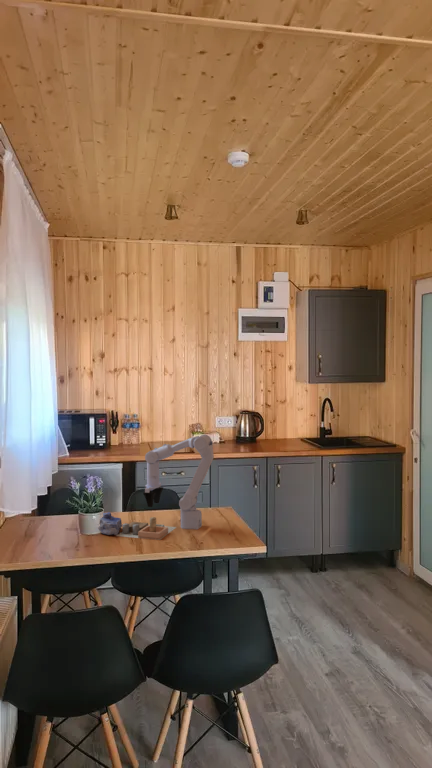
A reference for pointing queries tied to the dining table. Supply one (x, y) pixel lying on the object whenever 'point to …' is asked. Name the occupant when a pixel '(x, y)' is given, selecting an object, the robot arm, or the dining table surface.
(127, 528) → the jig board
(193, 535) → the dining table surface
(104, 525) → the mineral
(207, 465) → the robot arm
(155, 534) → the tray
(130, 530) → the square tan tile
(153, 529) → the dowel
